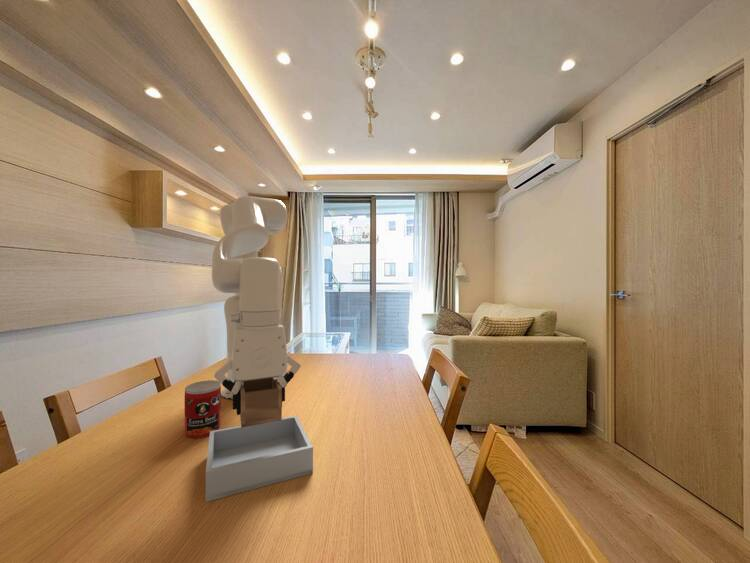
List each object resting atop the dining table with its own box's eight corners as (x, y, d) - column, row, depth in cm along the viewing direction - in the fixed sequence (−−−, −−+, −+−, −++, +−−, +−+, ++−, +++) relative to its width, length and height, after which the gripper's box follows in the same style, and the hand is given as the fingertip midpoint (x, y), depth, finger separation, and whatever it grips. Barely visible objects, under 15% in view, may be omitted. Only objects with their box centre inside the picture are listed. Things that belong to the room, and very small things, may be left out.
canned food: (183, 442, 70) (183, 393, 70) (185, 426, 77) (186, 382, 77) (220, 434, 73) (221, 388, 73) (220, 420, 80) (220, 378, 80)
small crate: (239, 406, 64) (239, 378, 64) (274, 401, 67) (274, 374, 67) (241, 427, 55) (241, 394, 55) (281, 420, 58) (281, 388, 58)
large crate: (209, 455, 65) (209, 431, 64) (296, 436, 72) (296, 415, 72) (205, 502, 51) (205, 472, 51) (312, 473, 59) (313, 447, 59)
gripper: (209, 324, 54) (209, 425, 54) (307, 319, 62) (307, 408, 62) (211, 319, 61) (210, 409, 61) (299, 315, 69) (299, 395, 69)
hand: (259, 408), depth 61 cm, fingers closed on small crate, 7 cm apart
